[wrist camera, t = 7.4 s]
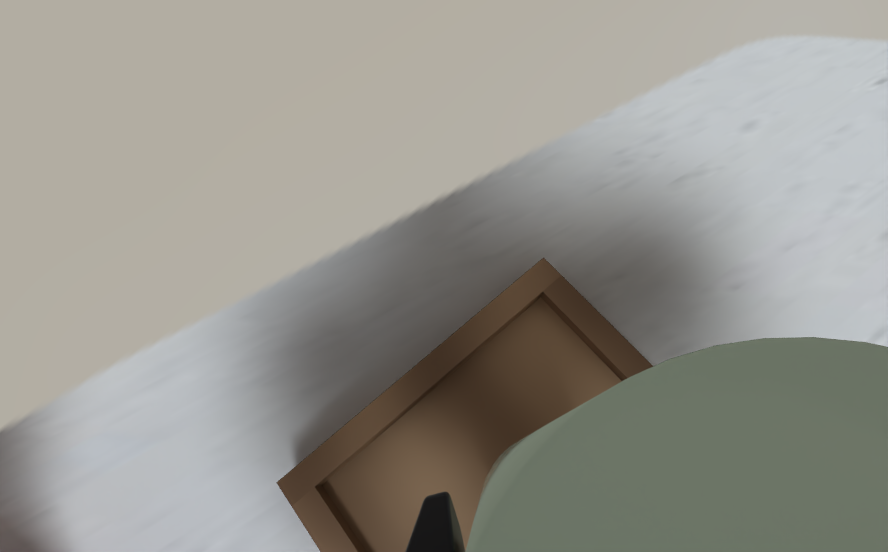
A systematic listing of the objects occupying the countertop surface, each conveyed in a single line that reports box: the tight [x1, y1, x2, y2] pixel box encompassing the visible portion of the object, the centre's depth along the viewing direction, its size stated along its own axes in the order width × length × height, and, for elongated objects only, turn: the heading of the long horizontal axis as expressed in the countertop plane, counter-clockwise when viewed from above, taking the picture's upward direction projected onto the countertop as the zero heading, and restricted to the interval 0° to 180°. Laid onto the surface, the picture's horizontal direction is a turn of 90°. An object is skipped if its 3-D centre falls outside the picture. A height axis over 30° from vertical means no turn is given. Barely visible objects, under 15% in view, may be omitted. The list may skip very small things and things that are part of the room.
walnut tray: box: [277, 258, 653, 552], centre depth 18 cm, size 13×13×2 cm
